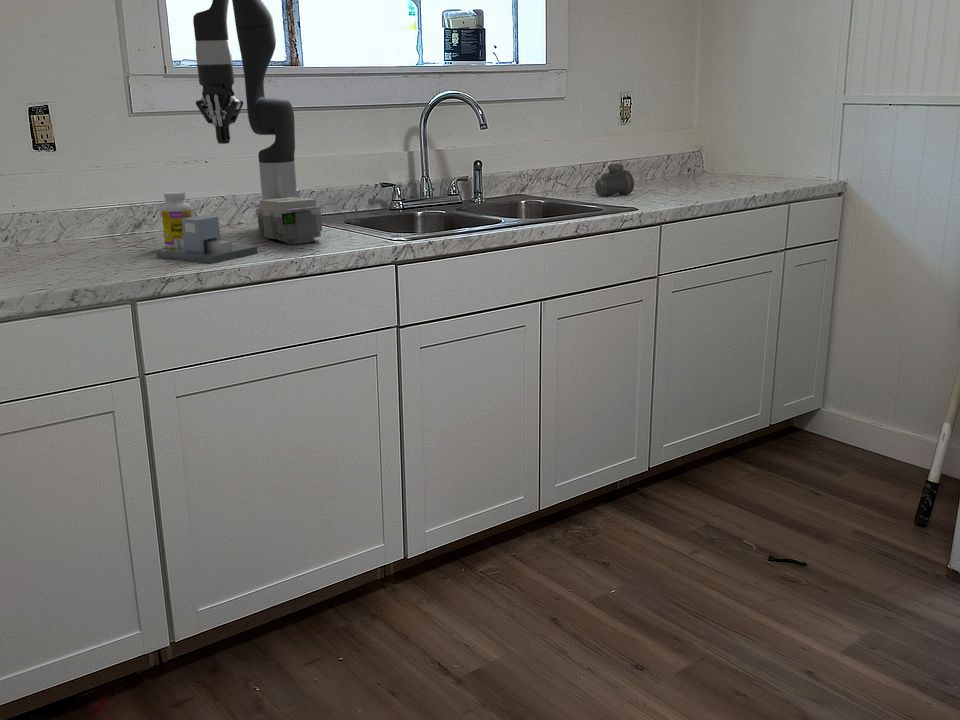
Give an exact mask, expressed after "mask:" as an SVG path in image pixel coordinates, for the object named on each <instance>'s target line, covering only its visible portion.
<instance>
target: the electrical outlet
mask: <svg viewBox="0 0 960 720" xmlns="http://www.w3.org/2000/svg"><path fill="white" fill-rule="evenodd" d="M258 203H259V204H258V205H254V207H255V208H256V209H255V213H256V216H257V224H258V232H259V237H263V238H267V239H272V240H277V241H281V242H283V243H286V244H288V245H289V244H292V245H293V244H295V245H296V244H304V243H313V241H314V239H315V238H321V236H322V234H321V232H322V231H323V225H322V223H323V222H322V209H324V206H317V199H315V198H305V197H300V198H293V197H291V198H279V199H266V200H262V199H259V202H258ZM313 238H314V239H313Z"/></svg>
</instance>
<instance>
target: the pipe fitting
mask: <svg viewBox="0 0 960 720" xmlns="http://www.w3.org/2000/svg"><path fill="white" fill-rule="evenodd" d="M607 170H608V172H606V173H602V174H601V176H600V178H599V179H597V180H596V181H595V183H594V190H595V193H596V195H597V196H599V197H600V198H603V197H604V198H605V197H609V196H612V195H616V194H619V195H622V196H625V195H630V194H631V193H633V190H634V187H635V186H634V185H635V181H634V177H633V175H632V173H631V172H630V171H629V170H625V168H624V165H623V164H621V163H613V164H610V165H608V166H607Z"/></svg>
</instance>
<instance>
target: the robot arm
mask: <svg viewBox="0 0 960 720" xmlns="http://www.w3.org/2000/svg"><path fill="white" fill-rule="evenodd" d="M229 2H230V0H212V1H211V5H210V7H209V8H208V9H206V10H203V11H200V12H196V13H195V14H194V15H193V17H192V19H193V21H192V22H193V30H194V31H193V32H194V39H195V57H196V65H197V67H196V68H197V75H198V82H199V83H198V84H199V85H200V86H201V87H202V92H201V94H202V97H201V98H200V99H199V100H196V101H195V105H196V107H197V108H198V110H199V111H200V113H201V115H202V117H203V118H204V119H205V121H206V122H207V123H208V124H211V125H212V126H213V127H215V130H214V131H215V135H216V141H217V143H218V144H219V145H220V144H221V145H226V144H229V143H230V142H231V141H230V140H231V134H230V125H231V124H235V123H236V121H237V119H238V117H239V114H240V112H241V109H242V108H243V105H244V101H243V100H242V99H238V98H237V97H236V96H235V92H234V89H233V85H234V84H235V76H234V75H235V74H234V66H233V57H232V50H231V45H230V41H229V32H228V31H229V30H228V9H229ZM231 2H232V8H233V15H234V23H235V30H236V36H237V41H238V46H239V51H240V57H241V62H242V70H243V76H244V85H245V86H244V87H245V98H246V99H245V100H246V109H247V110H246V111H247V117H248V122H249V126H250V129H251V131H252V132H253V133H254V134H256V135H259V136H275V137H274V142H273V143H272V144H271V145H270V146H268V147H266V148H263V149H261V150H259V152H258V167H259V178H260V179H259V180H260V189H261V200H266V199H279V198H291V197H293V198H301V196H300V195H301V193H300V190H299V189H297V176H296V165H295V153H296V152H295V151H296V137H295V114H294V113H295V112H294V108H293V105H292V103H291V101H289V99H287V98H283V97H270V98H269V97H265V96H266V95H265V84H264V83H265V76H266V72H267V70H268V67H269V66H270V65H269V64H270V63H271V60H272V58H273V56H274V54H275V51H276V47H277V46H276V44H277V42H276V41H277V38H276V33H275V26H274V25H275V24H274V20H273V17H272V13H271V12H270V10H269V9H268V7H267V5H266V4H265V2H264V1H263V0H231Z"/></svg>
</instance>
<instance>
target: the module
mask: <svg viewBox="0 0 960 720" xmlns="http://www.w3.org/2000/svg"><path fill="white" fill-rule="evenodd" d="M182 228H183V237H184V246H185V250H186V251H195V252H204V243H203V240H217V241H221V233H220V223H219V216H216V215H215V216H213V215H197V216H192V217H190V218H184V219H182Z"/></svg>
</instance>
